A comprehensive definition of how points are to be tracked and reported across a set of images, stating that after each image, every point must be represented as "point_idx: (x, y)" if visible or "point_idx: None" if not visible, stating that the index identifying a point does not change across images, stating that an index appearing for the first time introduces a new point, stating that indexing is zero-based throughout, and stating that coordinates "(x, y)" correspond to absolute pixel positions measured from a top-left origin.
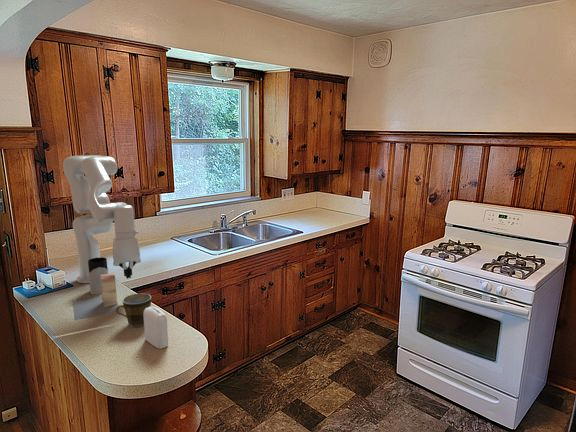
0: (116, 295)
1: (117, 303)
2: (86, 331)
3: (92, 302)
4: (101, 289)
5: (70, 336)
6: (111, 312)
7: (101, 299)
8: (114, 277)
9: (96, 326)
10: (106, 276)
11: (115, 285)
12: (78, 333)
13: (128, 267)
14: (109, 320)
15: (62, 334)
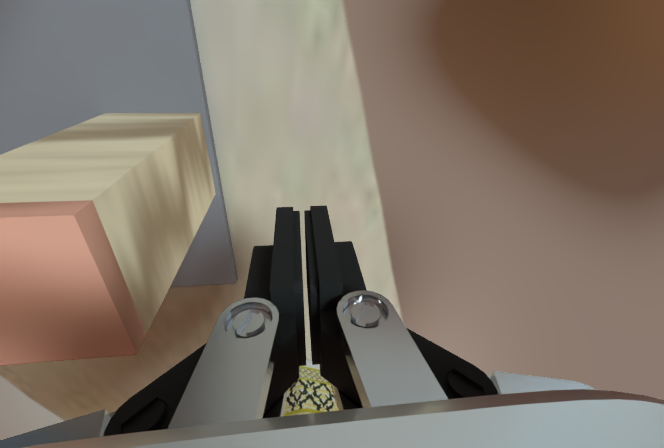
0: (200, 223)
1: (216, 182)
2: (108, 376)
3: (14, 72)
4: (31, 145)
5: (53, 389)
6: (190, 283)
7: (78, 37)
8: (133, 345)
9: (140, 355)
10: (1, 318)
11: (172, 276)
12: (78, 380)
13: (321, 353)
14: (188, 329)
15: (8, 371)
